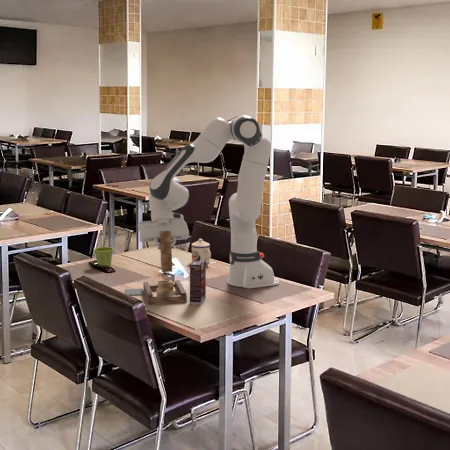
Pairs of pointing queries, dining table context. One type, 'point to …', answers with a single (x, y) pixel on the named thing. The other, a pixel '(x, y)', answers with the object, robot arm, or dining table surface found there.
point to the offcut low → (166, 292)
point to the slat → (166, 251)
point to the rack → (165, 299)
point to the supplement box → (197, 282)
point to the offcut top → (165, 285)
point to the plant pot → (104, 255)
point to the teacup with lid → (201, 251)
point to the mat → (134, 291)
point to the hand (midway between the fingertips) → (166, 248)
